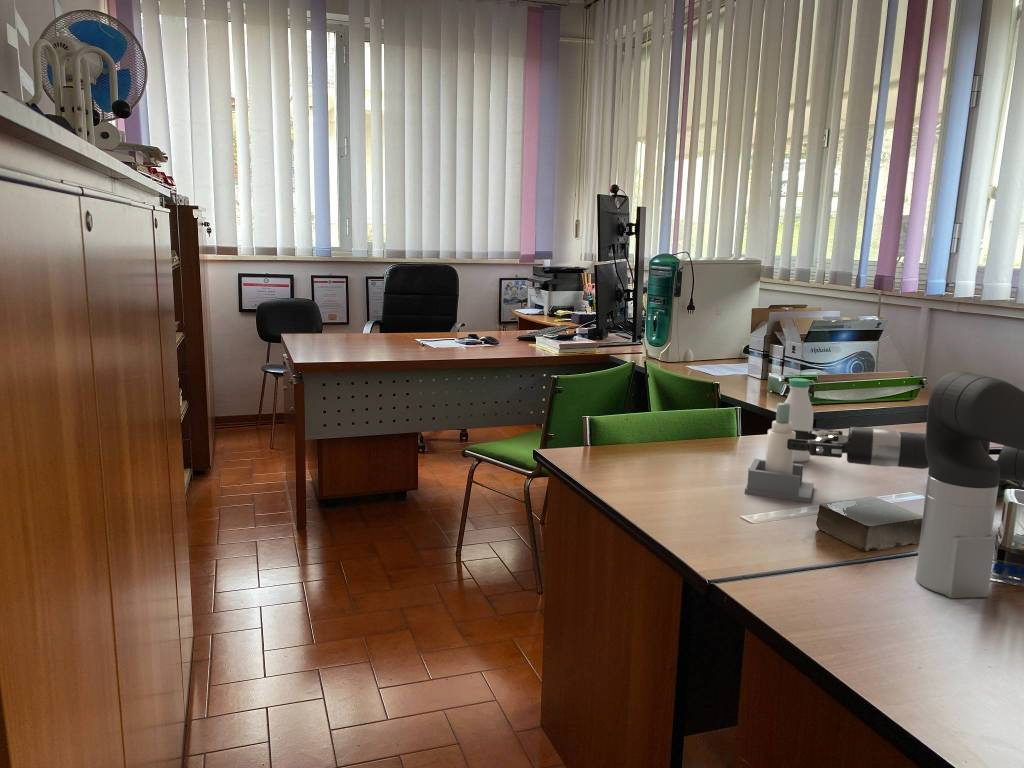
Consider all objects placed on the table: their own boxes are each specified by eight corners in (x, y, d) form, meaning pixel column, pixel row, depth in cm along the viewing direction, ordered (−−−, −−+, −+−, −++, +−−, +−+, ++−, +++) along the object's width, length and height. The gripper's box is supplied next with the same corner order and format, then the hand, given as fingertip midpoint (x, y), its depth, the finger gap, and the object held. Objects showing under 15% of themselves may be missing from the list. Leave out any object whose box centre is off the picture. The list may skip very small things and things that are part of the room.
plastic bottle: (796, 489, 157) (802, 406, 154) (770, 489, 157) (776, 406, 153) (784, 481, 163) (790, 401, 159) (759, 481, 162) (765, 401, 159)
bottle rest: (810, 502, 152) (812, 479, 151) (744, 493, 157) (746, 470, 157) (813, 487, 162) (815, 465, 161) (751, 479, 167) (753, 457, 166)
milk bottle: (812, 463, 180) (819, 382, 177) (779, 461, 182) (785, 381, 178) (806, 455, 188) (813, 377, 184) (774, 453, 189) (781, 375, 185)
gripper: (873, 474, 145) (785, 464, 151) (870, 456, 157) (789, 448, 164) (876, 436, 143) (787, 428, 150) (873, 421, 156) (791, 415, 163)
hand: (788, 439), depth 157 cm, fingers open, 8 cm apart
